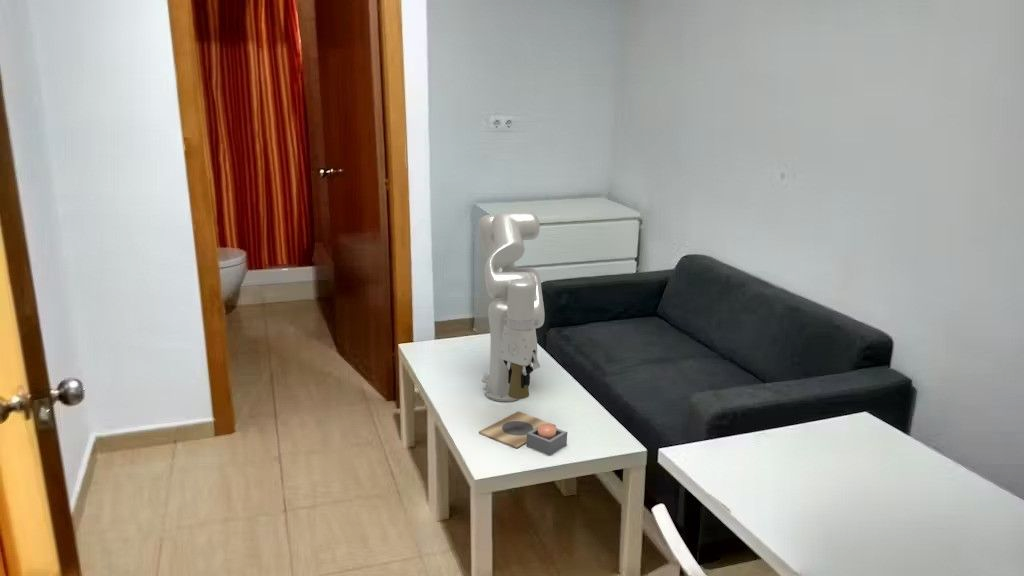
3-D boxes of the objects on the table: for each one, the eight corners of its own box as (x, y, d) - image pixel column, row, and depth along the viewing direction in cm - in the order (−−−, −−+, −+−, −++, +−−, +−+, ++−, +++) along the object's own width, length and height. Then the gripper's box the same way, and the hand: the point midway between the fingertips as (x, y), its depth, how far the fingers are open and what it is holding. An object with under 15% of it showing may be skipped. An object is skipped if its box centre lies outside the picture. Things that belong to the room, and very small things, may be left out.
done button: (534, 437, 217) (534, 428, 216) (545, 431, 220) (545, 422, 220) (548, 443, 214) (549, 433, 213) (559, 437, 217) (559, 427, 217)
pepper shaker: (527, 400, 220) (528, 363, 217) (506, 397, 221) (506, 361, 218) (531, 391, 225) (532, 355, 222) (510, 389, 226) (511, 353, 223)
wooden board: (478, 433, 224) (478, 431, 224) (518, 413, 237) (518, 410, 237) (516, 449, 216) (516, 446, 215) (555, 427, 229) (555, 424, 229)
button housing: (526, 446, 217) (526, 433, 216) (543, 436, 223) (544, 423, 222) (549, 455, 212) (550, 442, 211) (566, 445, 218) (567, 432, 217)
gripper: (488, 319, 220) (487, 380, 225) (536, 333, 209) (534, 396, 214) (505, 313, 225) (504, 373, 230) (552, 326, 215) (550, 388, 220)
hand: (518, 383), depth 222 cm, fingers closed on pepper shaker, 3 cm apart
